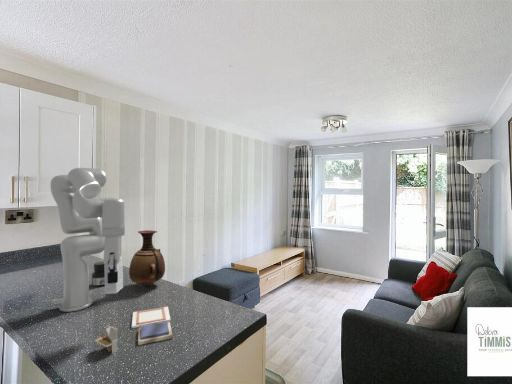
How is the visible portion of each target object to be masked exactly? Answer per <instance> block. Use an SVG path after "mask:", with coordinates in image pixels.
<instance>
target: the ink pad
mask: <svg viewBox="0 0 512 384" xmlns="http://www.w3.org/2000/svg"><path fill="white" fill-rule="evenodd" d="M137 336H138V337H137V345H138V346H142V345H145V344H146V345H147V344H151V343H155V342H160V341H165V340H169V339H170V340H171V339H173V332H172V326H171V322H163V323H157V324H152V325H146V326H142V327H138V335H137Z"/></svg>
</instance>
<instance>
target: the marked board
mask: <svg viewBox="0 0 512 384" xmlns="http://www.w3.org/2000/svg"><path fill="white" fill-rule="evenodd" d="M163 322H167V323H168V322H170V323H171V315H170V310H169V307H168V306H163V307H158V308H157V307H156V308H151V309H145V310H138V311H137V310H136V311H133V312H132V317H131V329H137V328H138V329H139V328H140V327H142V326H146V325H152V324H157V323H163Z"/></svg>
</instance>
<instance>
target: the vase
mask: <svg viewBox="0 0 512 384" xmlns="http://www.w3.org/2000/svg"><path fill="white" fill-rule="evenodd" d="M137 233H138V234H140V235H141V237H142V246H141V248H140V249H138V250H137V251H136V252H135V253H134V255H133V256H132V259H131V261H130V263H129V271H128V272H129V274H128V275H129V279H130V281H131V282H132V283H135V284H139V285H142V286H144V287H146V288H148V287H150V286H151V285H152V284H153V283H157V282H158V281H160V280H162V279H163V277H164V276H165V272H166V264H165V258H164V256H163V254H162V252H161V248H158V249H157V248H155V246H154V244H153V237H154V235H155V234H156V233H158V231H157V230H153V229H151V230H150V229H148V230H139V231H137Z"/></svg>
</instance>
